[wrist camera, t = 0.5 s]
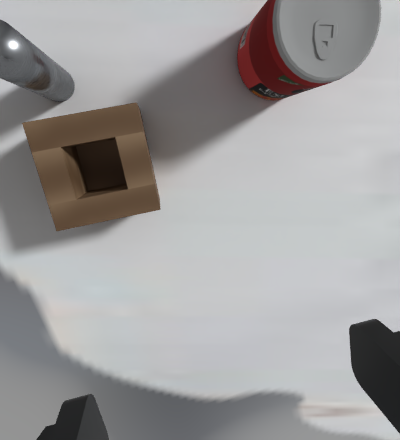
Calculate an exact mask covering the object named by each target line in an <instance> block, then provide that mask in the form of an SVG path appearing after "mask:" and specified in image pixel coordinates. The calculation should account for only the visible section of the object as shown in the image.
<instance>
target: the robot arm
mask: <svg viewBox="0 0 400 440" xmlns="http://www.w3.org/2000/svg"><path fill="white" fill-rule="evenodd" d="M349 334H350V350H351V364H352V369H353V372H354V375H355V377H356V379H357V381H358V383H359V384H360V386H361V387H362V388H363V390H364V391H365V392H366V393H367V394H368V396H369V397H370V398H371V399H372V400H373V402H374V403H375V404H376V405H377V407H378V408H379V409H380V410H381V411H382V413H383V414H384V415H385V416H386V417H387V419H388V420H389V421H390V422H391V424H392V425H393V426H394V427H395V428H396V430H397V431H398V432H399V433H400V331H398V332H394V333H393V332H392V331H391V330H390V329H389V328H387V327H386V326H385V325H384V324H382V323H381V322H380V321H379V320H377V319H372V320H368V321H364V322H361V323H357V324H353V325H351V326H350V329H349ZM37 440H109V438H108V433H107V430H106V427H105V425H104V422H103V419H102V416H101V414H100V411H99V408H98V406H97V403H96V400H95V398H94V396H93V395H92V394H88V395H85V396H81V397H77V398H74V399H70V400H66V401H64V402H63V404H62V406H61V409H60V412H59V415H58V418H57V421H56V424H54V425H50V426H47V427H45V429H44V430H43V431H42V433H41V434H40V436H39V437H38V438H37Z"/></svg>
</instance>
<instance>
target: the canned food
mask: <svg viewBox="0 0 400 440" xmlns="http://www.w3.org/2000/svg"><path fill="white" fill-rule="evenodd" d="M380 19H381V4H380V0H268V1H267V2H266V3H265V4H264V6H263V7H262V8H261V10H260V11H259V12H258V14H257V15H256V16H255V17H254V19H253V20H252V21H251V23H250V24H249V25H248V27H247V28H246V29H245V31H244V33H243V35H242V37H241V39H240V43H239V46H238V54H237V60H238V69H239V73H240V76H241V78H242V80H243V82H244V84H245V85H246V87H247V88H248V89H249V90H250V91H251V92H252V93H254V94H255V95H257V96H258V97H261V98H263V99H266V100H280V99H283V98H286V97H289V96H292V95H295V94H298V93H301V92H304V91H307V90H310V89H313V88H316V87H319V86H322V85H325V84H328V83H331V82H333V81H336V80H339V79H341V78H343V77H344V76H346V75H348V74H349V73H351V72H353V71H354V70H355V69H356V68H357V67H358V66H360V65H361V64H362V62H363V61H364V60H365V59H366V57H367V56H368V54H369V53H370V51H371V49H372V47H373V45H374V43H375V40H376V37H377V35H378V31H379V26H380Z"/></svg>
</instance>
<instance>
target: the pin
mask: <svg viewBox="0 0 400 440" xmlns="http://www.w3.org/2000/svg"><path fill="white" fill-rule="evenodd" d="M0 78H1V79H4V80H6V81H9V82H11V83H13V84H16V85H18V86H20V87H23V88H25V89H28V90H30V91H32V92H35V93H37V94H39V95H42V96H44V97H47V98H49V99H51V100H54V101H58V102H61V101H65V100H67V99H69V98H70V97H71V96H72V94H73V92H74V81H73V78H72V77H71V75H70V74H69V73H68V72H67V71H66V70H64V69H63V68H62V67H61V66H60V65H58V64H57V63H56V62H55V61H53V60H52V59H51V58H50V57H48V56H47V55H46V54H45V53H44V52H42V51H41V50H40V49H39V48H37V47H36V46H35V45H34V44H32V43H31V42H30V41H29V40H28V39H26V38H25V37H24V36H23V35H21V34H20V33H19V32H18V31H16V30H15V29H14V28H13V27H12V26H10V25H9V24H8V23H6V22H4V21H2V20H0Z"/></svg>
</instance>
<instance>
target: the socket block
mask: <svg viewBox="0 0 400 440" xmlns="http://www.w3.org/2000/svg"><path fill="white" fill-rule="evenodd" d="M22 124H23V127H24V130H25V133H26V137H27V140H28V143H29V146H30V149H31V152H32V155H33V159H34V162H35V165H36V168H37V171H38V174H39V177H40V181H41V184H42V187H43V190H44V193H45V196H46V199H47V202H48V206H49V209H50V212H51V215H52V218H53V221H54V224H55V228H56V231H60V230H65V229H70V228H75V227H79V226H84V225H89V224H94V223H98V222H103V221H108V220H113V219H118V218H122V217H127V216H132V215H137V214H141V213H146V212H151V211H156V210H160V199H159V194H158V189H157V185H156V180H155V176H154V171H153V167H152V162H151V158H150V153H149V149H148V144H147V139H146V135H145V130H144V126H143V121H142V117H141V112H140V109H139V107H138V105H137V103H131V104H126V105H120V106H114V107H109V108H103V109H97V110H92V111H86V112H81V113H75V114H69V115H64V116H58V117H52V118H47V119H41V120H35V121H30V122H24V123H22Z"/></svg>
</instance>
